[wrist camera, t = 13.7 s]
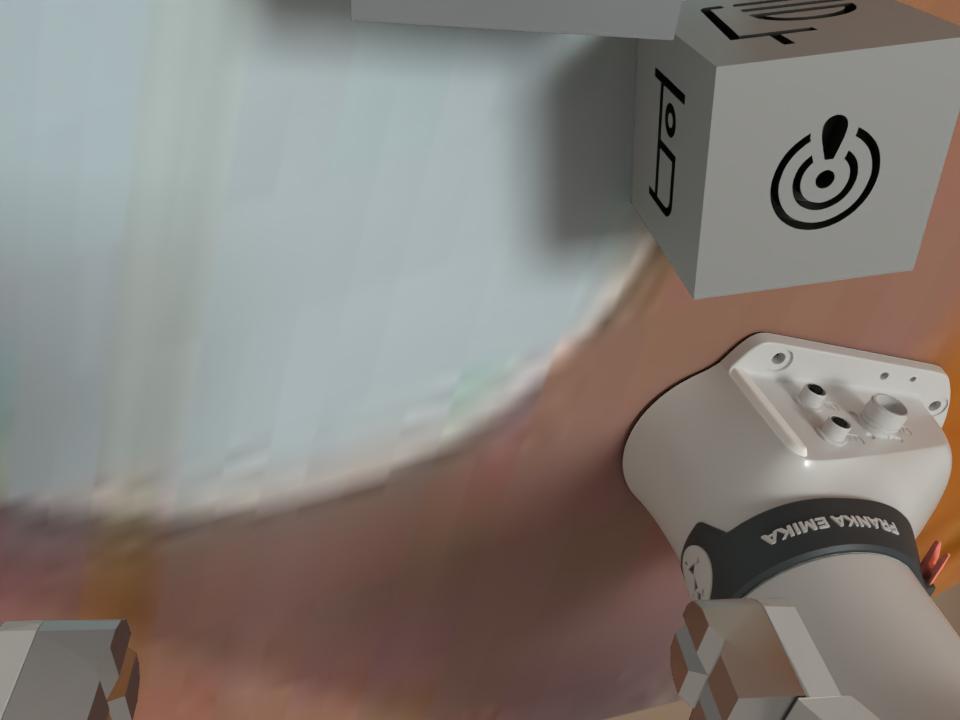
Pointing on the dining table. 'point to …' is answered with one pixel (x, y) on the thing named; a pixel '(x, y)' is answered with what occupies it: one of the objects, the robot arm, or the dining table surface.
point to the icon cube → (792, 139)
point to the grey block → (532, 15)
